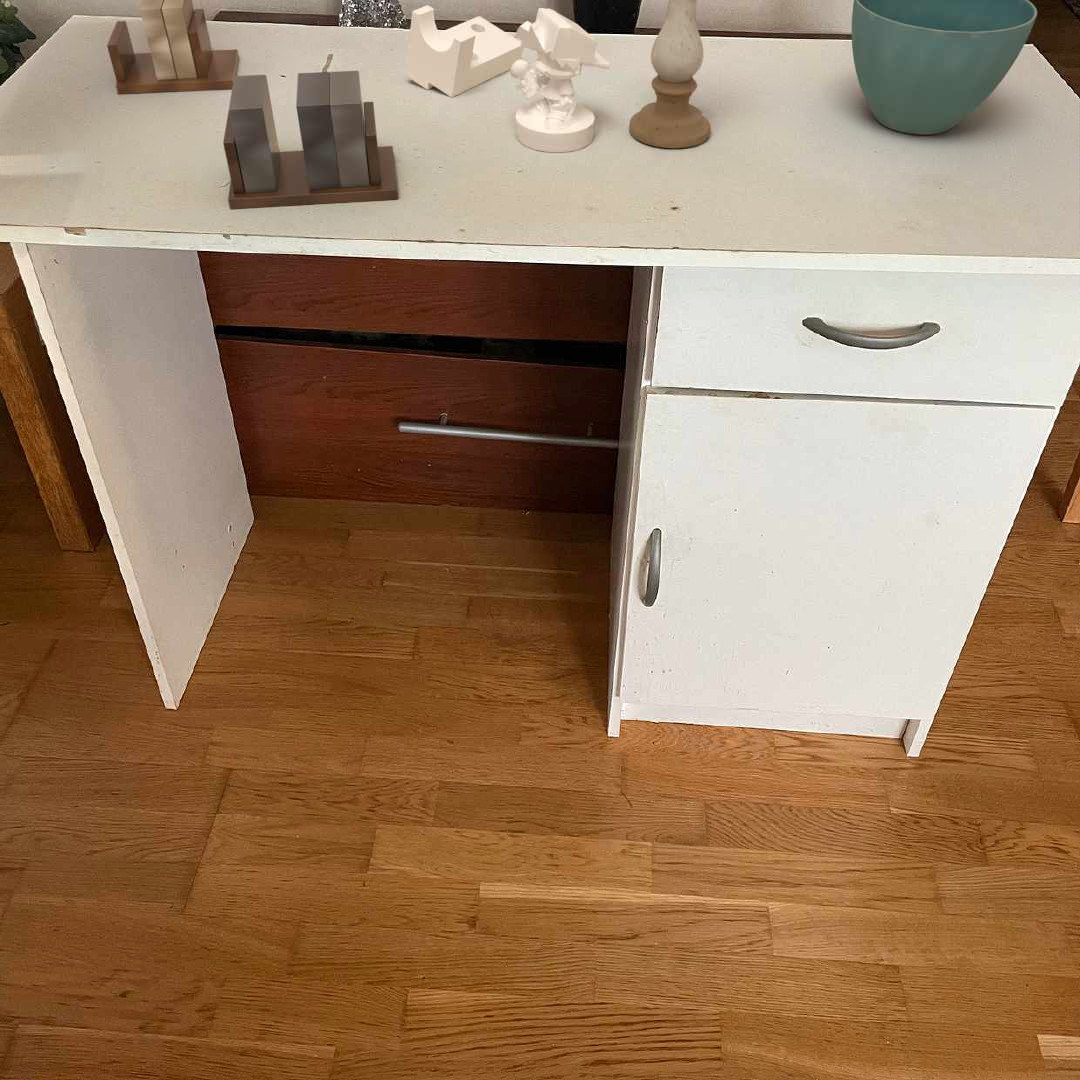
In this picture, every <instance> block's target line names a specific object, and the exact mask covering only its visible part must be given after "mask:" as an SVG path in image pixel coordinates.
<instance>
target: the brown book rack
mask: <svg viewBox="0 0 1080 1080" xmlns="http://www.w3.org/2000/svg"><path fill="white" fill-rule="evenodd" d="M139 11H140V16H141V20H142V24H143V28H144V32H145V35H146V40H147V44H148V48H149V52H138V53H135V51H134V47H133V43H132V39H131V36H130V32H129V31H130V30H129V28H128V24H127V21H126V20H117V21H116V23H115V25H114V28H113V30H112V32H111V35H110V37H109V39H108V42H107V44H106V48H107V51H108V55H109V58H110V59H109V60H110V62H111V65H112V66H111V67H112V69H113V73H114V77H115V81H116V83H115V88H116V92H117V94H118V95H127V94H128V95H129V94H151V93H152V94H153V93H173V92H174V93H175V92H195V91H216V90H217V91H219V90H232V88H233V82H234V76H237V74H238V73H237V72H238V66H239V61H240V56H239V50H238V49H214V50H213V49H212V44H211V39H210V38H211V37H210V35H209V29H208V26H207V25H208V24H207V20H206V15H205V14H206V13H205V10H204V8H194V3H193V0H142V2H141V5H140V8H139Z"/></svg>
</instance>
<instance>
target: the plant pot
mask: <svg viewBox="0 0 1080 1080" xmlns="http://www.w3.org/2000/svg"><path fill="white" fill-rule="evenodd" d="M1037 16H1038V10H1037V8H1036V6H1035V4H1033V3H1032V2H1031V1H1030V0H853V5H852V14H851V51H852V57H853V65H854V68H855V69H854V70H855V74H856V77H857V81H858V83H859V86H860V89H861V92H862V94H863V96H864V99H865V101H866V103H867V105H868V107H869V109H870V111H871V113H872V115H873V116H874V117H875V119H876V120H877V121H878V122H879V123H880V124H881V125H883V126H884V127H886V128H888V129H890V130H893V131H895V132H900V133H905V134H910V135H920V136H921V135H922V136H923V135H924V136H925V135H937V134H941V133H945V132H947V131H949V130H951V129H952V128H954V127H955V126H957V125H958V124H959V123H960V122H962V121H963V120H964V119H966V118H967V117H968V116H969V115H970V114H972V113H973V112H974V111H975V110H976V109H977V108H978V107H980V106H981V105H982V104H983V103H984V102H985V101H986V100H987V99H988V98H989V96H990V95H992V93H993V92H995V90H996V88H998V87H999V85H1000V83H1002V81H1003V80H1004V78H1005V77H1006V76H1007V74H1008V73H1009V71H1010V70H1011V68H1012V67H1013V65H1014V64H1015V62H1016V60H1017V59H1018V57H1019V56H1020V53H1021V52H1022V50H1023V48H1024V46H1025V44H1026V42H1027V41H1028V38H1029V36H1030V33H1032V32H1031V31H1032V29H1033V26H1034V24H1035V21H1036V18H1037Z"/></svg>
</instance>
